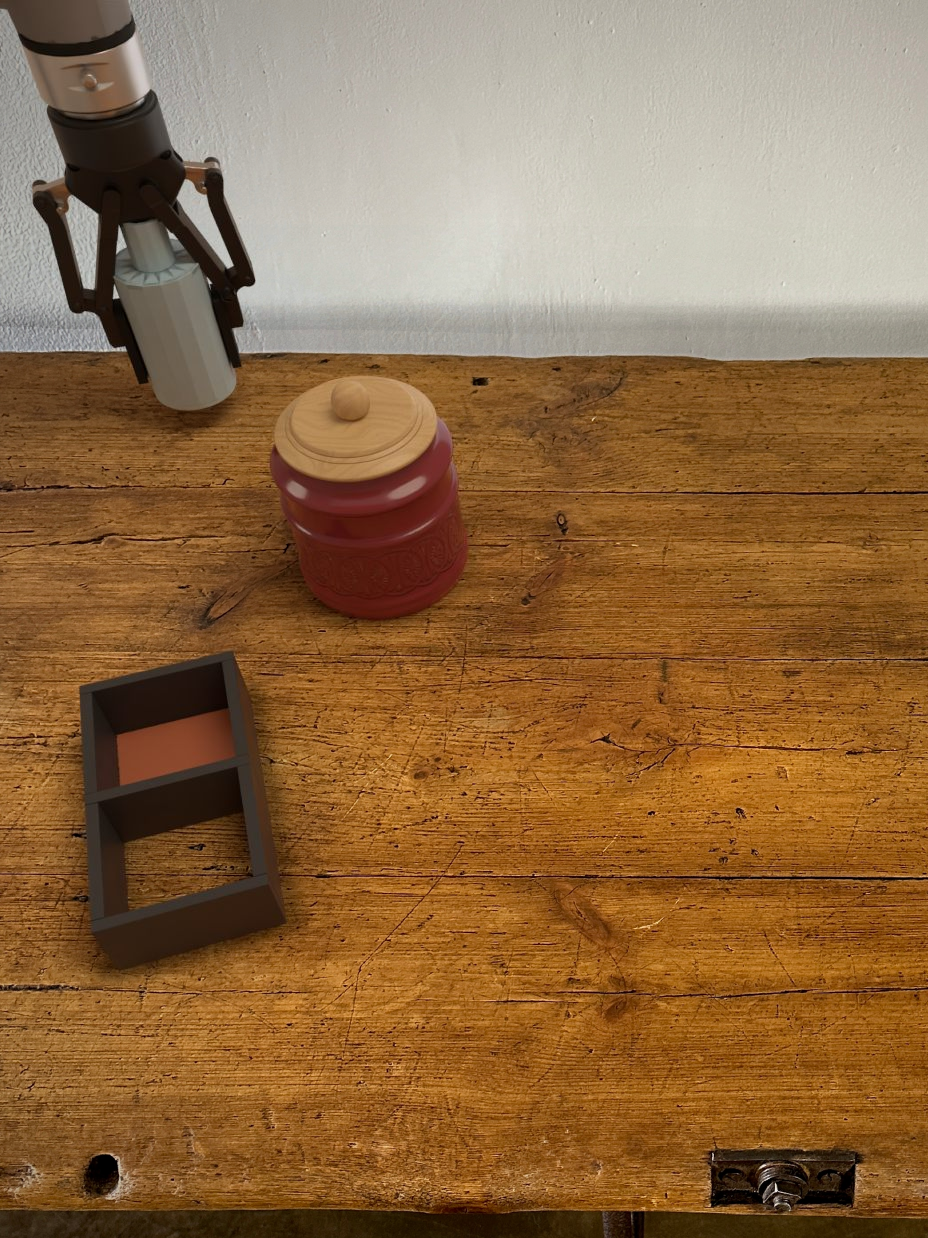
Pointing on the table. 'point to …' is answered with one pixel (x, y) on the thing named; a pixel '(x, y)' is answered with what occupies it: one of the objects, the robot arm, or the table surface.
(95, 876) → the frame
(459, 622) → the table surface
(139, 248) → the water bottle
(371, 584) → the kitchen canister
